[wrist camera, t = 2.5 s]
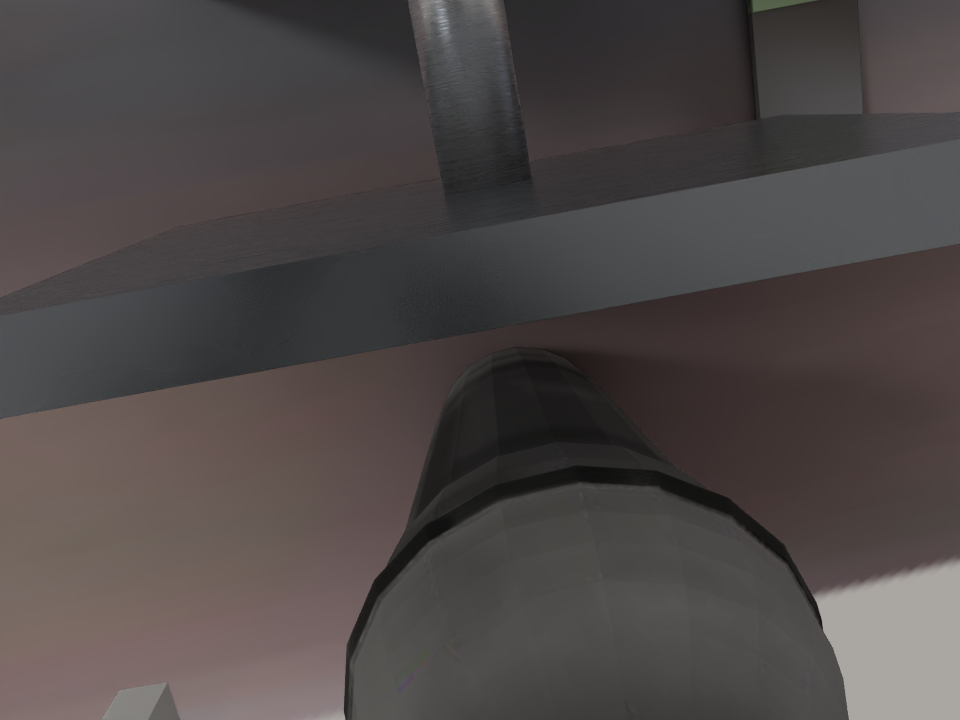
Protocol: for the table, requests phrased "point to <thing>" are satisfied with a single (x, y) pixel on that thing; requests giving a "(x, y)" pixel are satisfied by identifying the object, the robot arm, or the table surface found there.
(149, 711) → the robot arm
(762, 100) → the brown boxy piece
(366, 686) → the beverage cup
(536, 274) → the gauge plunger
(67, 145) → the table surface
